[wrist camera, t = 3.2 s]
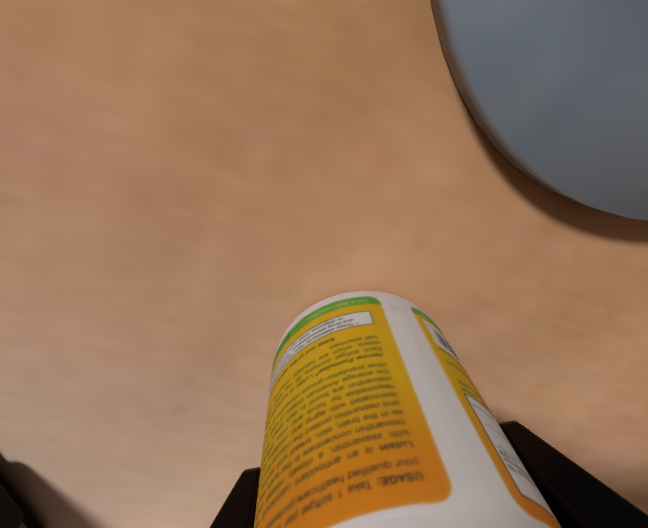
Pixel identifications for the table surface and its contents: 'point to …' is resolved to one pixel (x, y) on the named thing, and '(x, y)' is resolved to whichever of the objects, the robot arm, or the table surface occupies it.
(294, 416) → the supplement bottle
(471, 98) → the slate dish
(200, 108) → the table surface
